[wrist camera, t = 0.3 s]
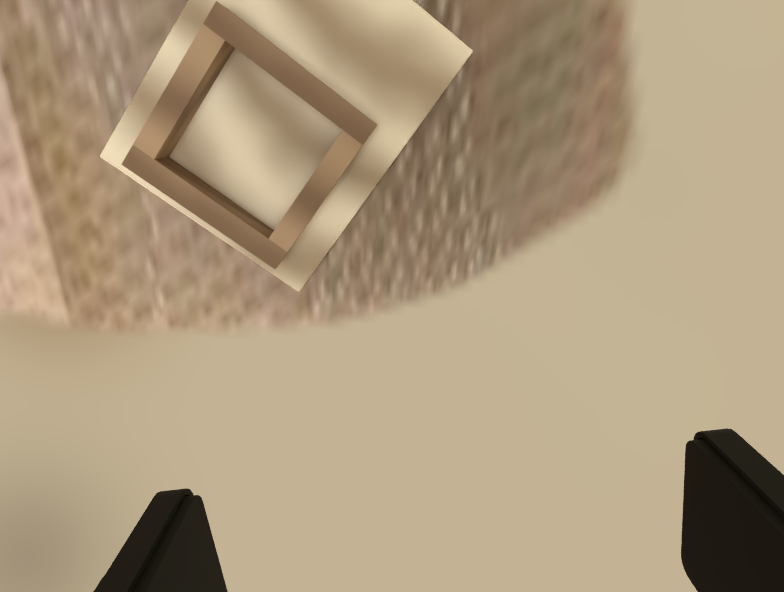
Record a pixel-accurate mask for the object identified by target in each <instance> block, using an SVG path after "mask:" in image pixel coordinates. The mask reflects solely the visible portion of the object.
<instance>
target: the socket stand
mask: <svg viewBox="0 0 784 592" xmlns="http://www.w3.org/2000/svg"><path fill="white" fill-rule="evenodd" d="M472 52H473V50H471V49H470V48H469V47H468V46H467V45H465V44H464V43H463V42H462V41H461V40H460V39H458V38H457V37H456V36H455V35H454V34H452V33H451V32H450V31H449V30H448V29H446V28H445V27H444V26H443V25H442V24H440V23H439V22H438V21H437V20H436V19H434V18H433V17H432V16H431V15H430V14H428V13H427V12H426V11H425V10H424V9H422V8H421V7H420V6H419V5H418V4H416V3H415V2H414V1H413V0H188V2H187V3H186V5H185V7H184V9H183V10H182V12H181V14H180V16H179V17H178V19H177V21H176V23H175V24H174V26H173V28H172V30H171V32H170V33H169V35H168V37H167V39H166V40H165V42H164V44H163V46H162V47H161V49H160V51H159V53H158V54H157V56H156V58H155V60H154V62H153V63H152V65H151V67H150V69H149V70H148V72H147V74H146V76H145V77H144V79H143V81H142V83H141V84H140V86H139V88H138V90H137V92H136V93H135V95H134V97H133V99H132V100H131V102H130V104H129V106H128V107H127V109H126V111H125V113H124V114H123V116H122V118H121V120H120V121H119V123H118V125H117V127H116V129H115V130H114V132H113V134H112V136H111V137H110V139H109V141H108V143H107V144H106V146H105V148H104V150H103V151H102V153H101V155H100V157H101V158H103V159H104V160H105V161H107V162H108V163H110V164H111V165H113V166H114V167H116V168H117V169H119V170H120V171H122V172H123V173H125V174H126V175H128V176H129V177H130V178H132V179H133V180H135V181H136V182H138V183H139V184H141V185H142V186H144V187H145V188H147V189H148V190H150V191H151V192H152V193H154V194H155V195H157V196H158V197H160V198H161V199H163V200H164V201H166V202H167V203H169V204H170V205H172V206H173V207H174V208H176V209H177V210H179V211H180V212H182V213H183V214H185V215H186V216H188V217H189V218H191V219H192V220H194V221H195V222H197V223H198V224H199V225H201V226H202V227H204V228H205V229H207V230H208V231H210V232H211V233H213V234H214V235H216V236H217V237H219V238H220V239H221V240H223V241H224V242H226V243H227V244H229V245H230V246H232V247H233V248H235V249H236V250H238V251H239V252H241V253H242V254H244V255H245V256H246V257H248V258H249V259H251V260H252V261H254V262H255V263H257V264H258V265H260V266H261V267H263V268H264V269H266V270H267V271H268V272H270V273H271V274H273V275H274V276H276V277H277V278H279V279H280V280H282V281H283V282H285V283H286V284H288V285H289V286H291V287H292V288H293V289H295V290H296V291H298V292H299V291H300V290H301V288H302V287H303V286H304V284H305V283H306V281H307V280H308V279H309V277H310V276H311V275H312V273H313V272H314V270H315V269H316V268H317V266H318V265H319V263H320V262H321V261H322V259H323V258H324V257H325V255H326V254H327V252H328V251H329V250H330V248H331V247H332V245H333V244H334V243H335V241H336V240H337V239H338V237H339V236H340V234H341V233H342V232H343V230H344V229H345V228H346V226H347V225H348V223H349V222H350V221H351V219H352V218H353V216H354V215H355V214H356V212H357V211H358V210H359V208H360V207H361V205H362V204H363V203H364V201H365V200H366V198H367V197H368V196H369V194H370V193H371V192H372V190H373V189H374V187H375V186H376V185H377V183H378V182H379V180H380V179H381V178H382V176H383V175H384V174H385V172H386V171H387V169H388V168H389V167H390V165H391V164H392V163H393V161H394V160H395V158H396V157H397V156H398V154H399V153H400V151H401V150H402V149H403V147H404V146H405V145H406V143H407V142H408V140H409V139H410V138H411V136H412V135H413V133H414V132H415V131H416V129H417V128H418V127H419V125H420V124H421V122H422V121H423V120H424V118H425V117H426V116H427V114H428V113H429V111H430V110H431V109H432V107H433V106H434V104H435V103H436V102H437V100H438V99H439V98H440V96H441V95H442V93H443V92H444V91H445V89H446V88H447V86H448V85H449V84H450V82H451V81H452V80H453V78H454V77H455V75H456V74H457V73H458V71H459V70H460V68H461V67H462V66H463V64H464V63H465V62H466V60H467V59H468V57H469V56H470V55H471V53H472Z"/></svg>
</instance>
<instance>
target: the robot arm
mask: <svg viewBox="0 0 784 592" xmlns="http://www.w3.org/2000/svg"><path fill="white" fill-rule="evenodd" d="M681 558H682V563H683V566H684V569H685V572H686V574H687V576H688V577H689V579H690V581H691V582H692V584H693V585H694V586H695V588H696V590H697V591H698V592H784V475H783V474H782V473H781V472H780V471H778V470H777V469H776V468H775V467H774V466H773V465H772V464H770V462H768V461H767V460H766V459H765V458H764V457H763V456H762V455H761V454H759V453H758V452H757V451H756V450H755V449H754V448H753V447H752V446H751V445H749V444H748V443H747V442H746V441H745V440H744V439H743V438H742V437H740V436H739V435H738V434H737V433H736V432H735V431H733V430H732V429H720V430H710V431H701V432H698V433H696V434H695V436H694V440H692V441H689V442H687V444H686V453H685V476H684V501H683V522H682V546H681ZM94 592H227V589H226V585H225V581H224V578H223V574H222V570H221V566H220V563H219V559H218V555H217V552H216V548H215V544H214V541H213V537H212V534H211V530H210V526H209V523H208V519H207V515H206V512H205V508H204V504H203V501H202V498H201V497H200V496H198V495H195V496H193V493H192V492H191V490H190V489H180V490H170V491H161V492H158V493H157V494H156V495H155V496H154V498H153V499H152V501H151V502H150V504H149V506H148V507H147V509H146V510H145V512H144V513H143V515H142V517H141V518H140V520H139V522H138V523H137V525H136V526H135V528H134V530H133V531H132V533H131V534H130V536H129V538H128V539H127V541H126V542H125V544H124V546H123V547H122V549H121V550H120V552H119V554H118V555H117V557H116V558H115V560H114V562H113V563H112V565H111V567H110V568H109V570H108V571H107V573H106V575H105V576H104V577H103V578H102V579H101V581H100V583H99V584H98V586H97V587H96V589H95V590H94Z"/></svg>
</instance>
